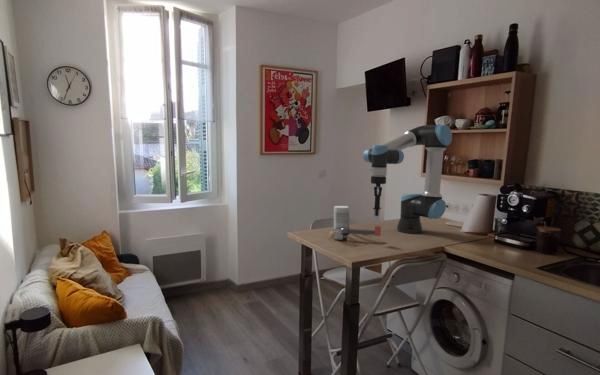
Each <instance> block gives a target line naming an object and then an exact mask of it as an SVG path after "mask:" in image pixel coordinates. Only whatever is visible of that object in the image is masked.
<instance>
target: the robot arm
mask: <svg viewBox="0 0 600 375" xmlns="http://www.w3.org/2000/svg"><path fill="white" fill-rule="evenodd" d="M452 142H453V132H452V130H451V128H450V127H449V126H448V125H445V124H428V125H425V124H424V125H420V126H417V127H415V128H412V129H409V130H407V131H406V132H404V133H403V134H402V135H401V136H397V137H396V138H394V139H392V140H390V141H387V142H386V143H384V144H380V145H379V144H374V145H373V146H372V148H367V149H365V150H364V151H363V153H362V154H363V157H362V158H363V160H364V161H365V163H371V168H370V169H369V171H370V173H371V174H370V175H371V176H370V183H371V184H374V185H375V186H374V187H373V191H374V192H373V196H374V207H373V208H372V210H374V211H373V222H374V223H379V222H380V210H381V209H382V207H381V196H382V191H383V187H382V186H381V185H386V183H387V171H388V170H387V169H388V168H387V167H388V166H387V165H398V164H399V165H400V164H401V163H403V161H404V158H405V155H404V152H403V150H404V149H407V148H412V147H415V146H424V149H425V150H426V151H427V154H426V163H425V164H426V165H425V175H424V176H425V178H424V189H423V192H422V193H408V194H407V193H406V194H403V195H401V197H400V199H401V200H400V218H399V220H398V224H397V225H396V231H398V232H401V233H406V234H421V233H423V226H422V221H421V217H422V218H423V217H424V218H426V219H430V220H431V219H434V220H438V219H440V218H442V216H444V214H445V212H446V208H447V204H446V201H445V200H444V199H443V195H442V194H441V182H442V173H443V172H442V170H443V161H444V160H443V158H444V152H445V151H446V150H447V148H448V146H449V145H450V144H451V143H452Z"/></svg>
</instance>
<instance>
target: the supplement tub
mask: <svg viewBox="0 0 600 375" xmlns="http://www.w3.org/2000/svg"><path fill="white" fill-rule="evenodd" d="M342 227H347V228H350V207H349V206H347V205H335V206H333V229H335V230H341V228H342Z"/></svg>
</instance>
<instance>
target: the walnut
mask: <svg viewBox="0 0 600 375" xmlns="http://www.w3.org/2000/svg"><path fill="white" fill-rule="evenodd" d="M334 231H335V230H331V231H329V238H331V239H334Z"/></svg>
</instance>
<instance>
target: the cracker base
mask: <svg viewBox="0 0 600 375" xmlns="http://www.w3.org/2000/svg"><path fill="white" fill-rule="evenodd" d="M326 239H327V240H329V241H332V242H333V243H337V244H340V245H342V246H344V247H348V248H357V247H360V246H366V245H370V244H371V245H372V244H376V243H381V242H383V240H381V239H377V238H375V237H371V236H368V235H366V234H349V235H347V240H336V239H331V238H330V237H328V238H326Z"/></svg>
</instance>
